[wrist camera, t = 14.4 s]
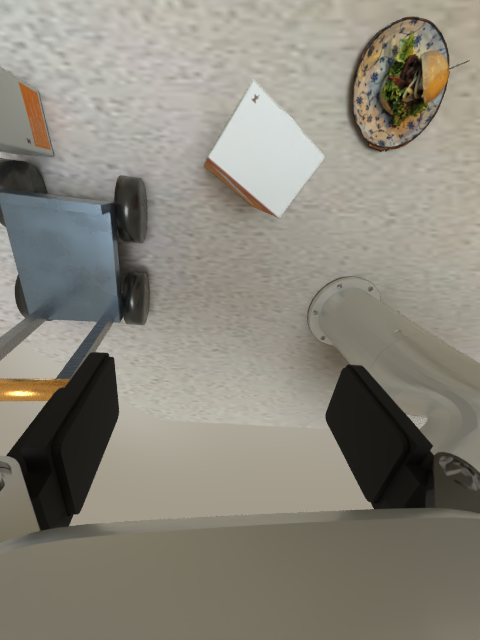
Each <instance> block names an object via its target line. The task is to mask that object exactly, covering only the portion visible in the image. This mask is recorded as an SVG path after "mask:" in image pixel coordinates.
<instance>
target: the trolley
mask: <svg viewBox="0 0 480 640" xmlns="http://www.w3.org/2000/svg"><path fill="white" fill-rule="evenodd" d="M115 219H116V221H115ZM0 223H1V224H2V225H4V226H5V227H6V228H7V232H8V236H9V240H10V243H11V247H12V251H13V255H14V259H15V262H16V266H17V270H18V277H17V279H16V284H15V299H16V304H17V307H18V309H19V311H20V313H21V314H22V315H23V316H24V317H25V319H24V320H23V321H21V322H20V323H19V324H17V325H16V326H15V327H13V328H12V329H11V330H9V331H8V332H7V333H6V334H4V335H3V336H2V337H0V360H2V359H3V358H4V357H5V356H6V355H7V354H8V353H9V352H11V351H12V350H13V349H14V348H15V347H16V346H17V345H19V344H20V343H21V342H22V341H23V340H24V339H25V338H27V337H28V336H29V335H30V334H31V333H32V332H33V331H34V330H36V329H37V328H38V327H39V326H40V325H41V324H42V323H43V322H45V321H51V320H75V321H97V324H96V325H95V326H94V328H93V329H92V330H91V332H90V333H89V334H88V336H87V337H86V338H85V340H84V341H83V343H82V344H81V345H80V347H79V348H78V349H77V351H76V352H75V353H74V355H73V356H72V357H71V359H70V360H69V361H68V363H67V364H66V366H65V367H64V368H63V370H62V371H61V372H60V374H59V375H58V376H57V378H56V379H0V401H49V399H50V398H51V397H52V395H53V394H54V393H55V392H56V391H57V390H58V389H59V388H61V387H65V386H66V385H67V383H68V382H69V381H70V379H71V378H72V376H73V375H74V374H75V372H76V371H77V370H78V368H79V367H80V366H81V364H82V363H83V362H84V360H85V359H86V357H87V356H88V355H89V354H90V353H91V352H95V351H96V350H97V348H98V346H99V345H100V343H101V342H102V340H103V338H104V337H105V335H106V333H107V332H108V330H109V329H110V327H111V325H112V324H113V322H119V323H120V321H121V320H122V318H123V316H124V320H125V322H126V323H127V324H134V325H144V324H145V323H146V320H147V316H148V310H149V294H150V293H149V279H148V275H147V274H146V273H139V272H128V273H127V275H126V278H125V281H124V287H123V293H121V282H120V270H119V258H118V245H117V233H116V225H117V230H118V233H119V236H120V238H121V240H122V241H124V242H134V243H143V242H144V240H145V236H146V229H147V200H146V191H145V186H144V183H143V180H142V179H141V178H135V177H128V176H119V177H118V179H117V182H116V187H115V198H114V202H107V201H100V200H92V199H84V198H76V197H68V196H60V195H52V194H47V191H46V188H45V185H44V183H43V180H42V178H41V176H40V175H39V173H38V172H37V170H36V169H35V168H34V167H33V166H32V165H30V164H29V163H27V162H24V161H17V160H10V159H3V158H0ZM122 306H123V307H122Z"/></svg>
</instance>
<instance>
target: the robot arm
mask: <svg viewBox="0 0 480 640" xmlns="http://www.w3.org/2000/svg"><path fill="white" fill-rule="evenodd" d="M308 325H309V328H310V330H311V332H312V333H313V335H314V336H315V337H316V338H317V339H318V340H319V341H320V342H323V343H325V344H328V345H334V346H335V347H336V348H337V349H338V350H339V352H340V353H341V354H342V355H343V356H344V358H345V359H346V360H347V361H348V362H349V363H350V365H347V366H346V368H343V369H342V371H341V374H340V377H339V379H338V382H337V385H336V387H335V390H334V393H333V395H332V398H331V401H330V403H329V406H328V409H327V411H326V421H327V424H328V426H329V428H330V430H331V431H332V433H333V435H334V437H335V439H336V441H337V443H338V445H339V447H340V449H341V451H342V453H343V455H344V457H345V459H346V461H347V463H348V465H349V467H350V468H351V471H352V473H353V475H354V477H355V479H356V480H357V482H358V485H359V486H360V488H361V490H362V492H363V494H364V496H365V498H366V499H367V501H369V502H371V504H372V506H373V508H374V509H370V510H345V511H320V512H298V513H278V514H277V513H276V514H255V515H234V516H215V517H196V518H177V519H158V520H141V521H126V522H113V523H98V524H86V525H77V526H69V524H70V522H71V519H72V517H73V515H74V514H79V513H80V511H81V509H82V507H83V504H84V502H85V499H86V497H87V494H88V492H89V489H90V487H91V484H92V482H93V479H94V477H95V474H96V471H97V469H98V467H99V464H100V462H101V459H102V457H103V454H104V452H105V449H106V447H107V444H108V442H109V439H110V437H111V434H112V432H113V429H114V427H115V424H116V422H117V419H118V415H119V405H118V394H117V384H116V373H115V363H114V358H113V357H109V354H108V353H98V352H91V353H90V354H89V355H88V356H87V357H86V359H85V360H84V362H83V363H82V364H81V366H80V367H79V368H78V370H77V371H76V372H75V374H74V375H73V376H72V378H71V379H70V381H69V382H68V383H67V385H66V386H65V387H61V388H59V389H58V390H57V391H56V392H55V393H54V394H53V395H52V397H51V398H50V399H49V401H48V402H47V403H46V405H45V406H44V407H43V408H42V410H41V411H40V412H39V414H38V415H37V416H36V418H35V419H34V420H33V422H32V423H31V424H30V425H29V427H28V428H27V429H26V431H25V432H24V433H23V435H22V436H21V437H20V439H19V440H18V441H17V442H16V444H15V445H14V446H13V448H12V449H11V450H10V452H9V453H8V454H7V456H0V640H480V363H478V362H477V361H475V360H473V359H472V358H470V357H468V356H467V355H465V354H463V353H461V352H460V351H458V350H456V349H455V348H453V347H451V346H450V345H448V344H447V343H445V342H444V341H442V340H440V339H439V338H437V337H436V336H434V335H433V334H431V333H429V332H428V331H426V330H425V329H423V328H422V327H420V326H418V325H417V324H415V323H414V322H412V321H411V320H409V319H408V318H406V317H404V316H403V315H401V314H400V312H399V311H395V310H393V309H392V308H390V307H389V306H387V305H386V304H384V303H383V302H381V297H380V294H379V292H378V290H377V288H376V287H375V286H374V285H373V284H372V283H370V282H369V281H367V280H365V279H362V278H359V277H345V278H341V279H338V280H336V281H334V282H332V283H330V284H328V285H327V286H326V287H324V288H323V289H322V290H321V291H320V292H319V293H318V294H317V296H316V297H315V298H314V300H313V302H312V304H311V306H310V309H309V312H308ZM406 414H409V415H413V416H419V417H425V418H428V419H427V422H426V423H425V424H424V426H423V427H422V428H421V429H420V430H419V429H418V428H417V427H416V426H415V424H414V423H413V422H412V421H411V420H410V419H409V418H408V416H407V415H406Z"/></svg>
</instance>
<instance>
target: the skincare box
mask: <svg viewBox="0 0 480 640" xmlns="http://www.w3.org/2000/svg"><path fill="white" fill-rule="evenodd" d="M0 151H1V152H6V153H12V154H24V155H43V156H54V154H53V150H52V147H51V143H50V139H49V135H48V131H47V127H46V123H45V118H44V114H43V109H42V105H41V100H40V96H39V92H38V90H37V89H35V88H34V87H32V86H30V85H29V84H27V83H26V82H24V81H22V80H21V79H19V78H18V77H16V76H14V75H13V74H11V73H9V72H8V71H6V70H5V69H3V68H1V67H0Z"/></svg>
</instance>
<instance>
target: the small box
mask: <svg viewBox="0 0 480 640" xmlns="http://www.w3.org/2000/svg"><path fill="white" fill-rule="evenodd" d="M324 159H325V156H324V154H323V153H322V152H321V151H320V150H319V149H318V147H317V146H316V145H315V144H314V143H313V142H312V141H311V140H310V139H309V137H308V136H307V135H306V134H305V133H304V132H303V131H302V130H301V128H300V127H299V126H298V125H297V123H296V122H295V121H294V120H293V119H292V118H291V117H290V116H289V115H288V114H287V112H286V111H285V110H284V109H282V108H281V107H280V106H279V105H278V104H277V103H276V102H275V101H274V100H273V99H272V98H271V96H270V95H269V94H268V93H267V92H266V91H265V90H264V89H263V88H262V87H261V86H260V85H259V84H258V83H257V82H256V81H255V80H252V81H251V83H250V85H249V87H248V88H247V90H246V92H245V93H244V95H243V97H242V98H241V100H240V102H239V103H238V105H237V107H236V108H235V110H234V112H233V113H232V115H231V117H230V119H229V120H228V122H227V124H226V125H225V127H224V129H223V131H222V132H221V134H220V136H219V137H218V139H217V141H216V143H215V144H214V146H213V148H212V150H211V152H210V153H209V155H208V157H207V159H206V162H205V164H204V167H205V168H206V169H208V170H209V171H211V172H212V173H213V174H214V175H216V176H217V177H218V178H219V179H221V180H222V181H223V182H224V183H225V184H227V185H228V186H229V187H230V188H231V189H233V190H234V191H235V192H236V193H237V194H239V195H240V196H241V197H242V198H243V199H244V200H246V201H247V202H248V203H249V204H250V205H251V206H253V207H255V208H257V209H259V210H262V211H264V212H266V213H268V214H271V215H273V216H275V217H277V218H280V217H281V215H282V214H283V213H284V212H285V210H286V209H287V208H288V206H289V205H290V204H291V202H292V201H293V200H294V198H295V197H296V196H297V195H298V193H299V192H300V191H301V189H302V188H303V187H304V185H305V184H306V183H307V181H308V180H309V179H310V177H311V176H312V175H313V174H314V172H315V171H316V170H317V168H318V167H319V166H320V164H321V163H322V162H323V161H324Z"/></svg>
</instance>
